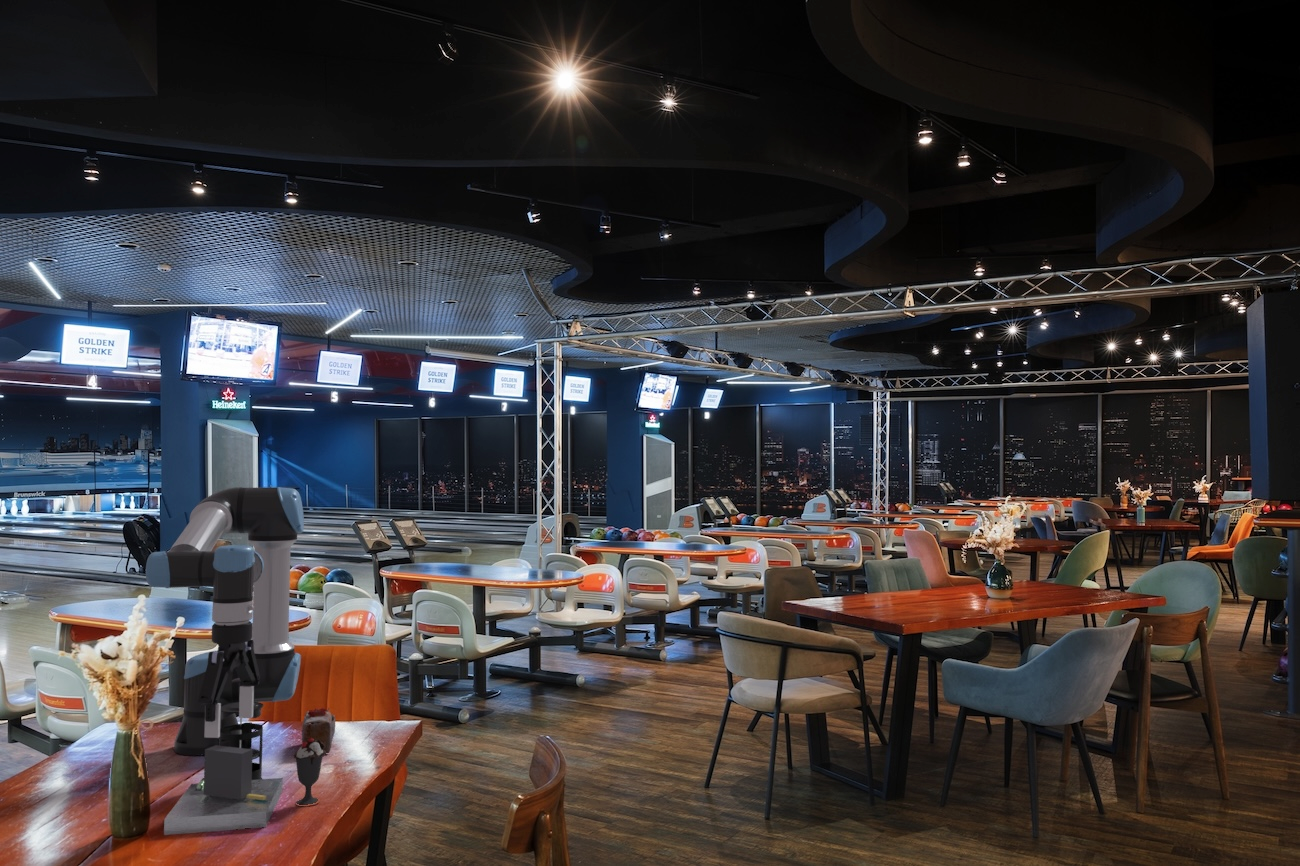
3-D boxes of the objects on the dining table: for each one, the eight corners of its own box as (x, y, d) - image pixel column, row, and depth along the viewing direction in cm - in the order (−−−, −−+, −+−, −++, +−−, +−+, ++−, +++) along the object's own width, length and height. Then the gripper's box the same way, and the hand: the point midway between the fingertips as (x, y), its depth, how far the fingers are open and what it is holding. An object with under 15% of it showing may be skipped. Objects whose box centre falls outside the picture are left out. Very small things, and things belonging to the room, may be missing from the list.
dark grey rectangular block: (203, 794, 184) (204, 749, 184) (214, 789, 187) (215, 745, 187) (259, 802, 180) (260, 755, 181) (269, 796, 183) (271, 751, 183)
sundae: (292, 810, 185) (294, 735, 186) (289, 800, 191) (291, 727, 192) (327, 805, 188) (328, 731, 189) (322, 795, 194) (324, 723, 195)
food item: (301, 742, 232) (302, 703, 233) (334, 739, 235) (335, 700, 236) (300, 758, 220) (301, 716, 220) (335, 754, 222) (336, 713, 223)
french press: (255, 791, 196) (258, 683, 197) (209, 793, 195) (212, 684, 196) (268, 773, 208) (271, 671, 209) (224, 775, 206) (227, 672, 207)
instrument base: (191, 798, 192) (191, 775, 192) (282, 792, 196) (282, 769, 196) (163, 835, 172) (164, 809, 172) (265, 827, 176) (266, 802, 177)
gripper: (218, 633, 173) (215, 746, 172) (278, 612, 198) (275, 710, 197) (180, 633, 173) (177, 745, 173) (244, 611, 198) (241, 709, 198)
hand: (229, 727), depth 185 cm, fingers open, 13 cm apart
